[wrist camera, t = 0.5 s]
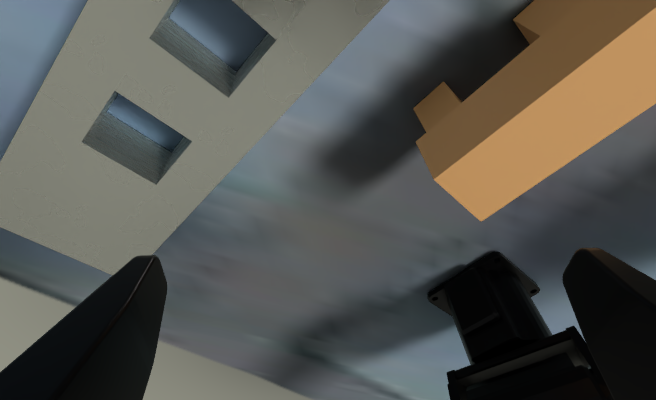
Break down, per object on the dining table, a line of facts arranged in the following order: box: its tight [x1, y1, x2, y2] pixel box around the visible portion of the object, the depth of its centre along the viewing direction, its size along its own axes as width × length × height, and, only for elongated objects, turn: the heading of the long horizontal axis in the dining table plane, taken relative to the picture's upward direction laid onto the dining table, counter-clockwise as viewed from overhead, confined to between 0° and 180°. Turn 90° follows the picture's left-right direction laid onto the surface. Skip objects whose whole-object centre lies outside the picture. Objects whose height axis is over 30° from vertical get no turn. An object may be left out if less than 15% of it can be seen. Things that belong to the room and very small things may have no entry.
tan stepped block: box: [413, 0, 656, 221], centre depth 17 cm, size 4×9×6 cm, turn 136°
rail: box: [0, 0, 389, 275], centre depth 18 cm, size 8×24×3 cm, turn 136°
